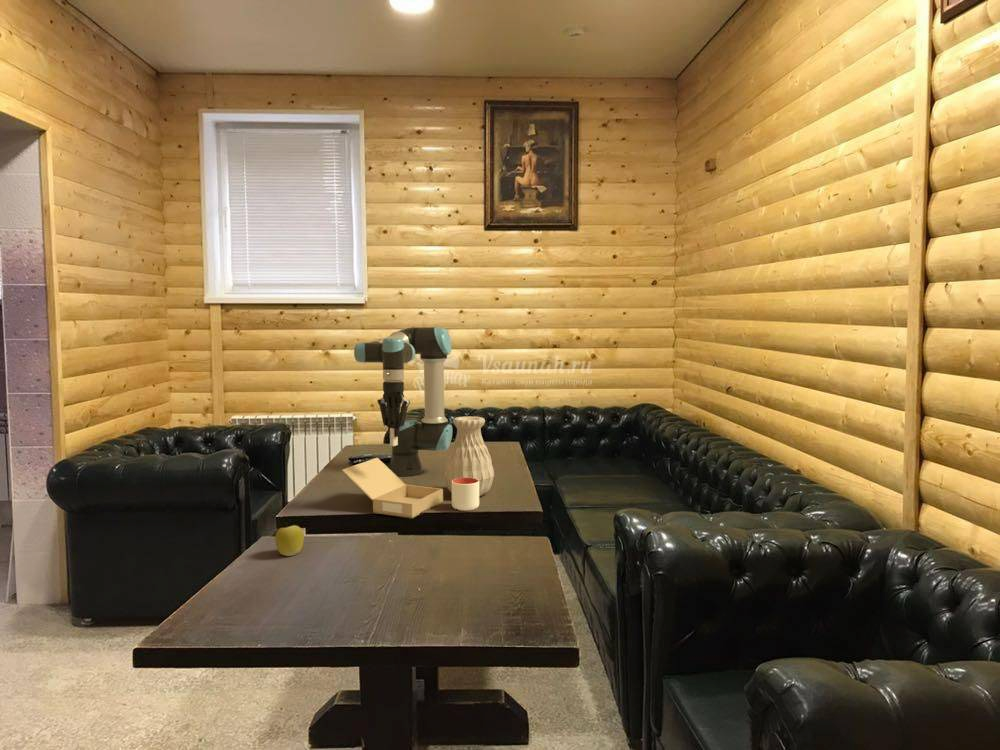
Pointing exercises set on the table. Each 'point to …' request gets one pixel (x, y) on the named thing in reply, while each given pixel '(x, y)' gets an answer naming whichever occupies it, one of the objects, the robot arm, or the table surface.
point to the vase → (469, 455)
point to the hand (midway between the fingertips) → (393, 445)
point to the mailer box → (407, 501)
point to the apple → (289, 540)
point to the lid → (373, 478)
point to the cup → (465, 494)
